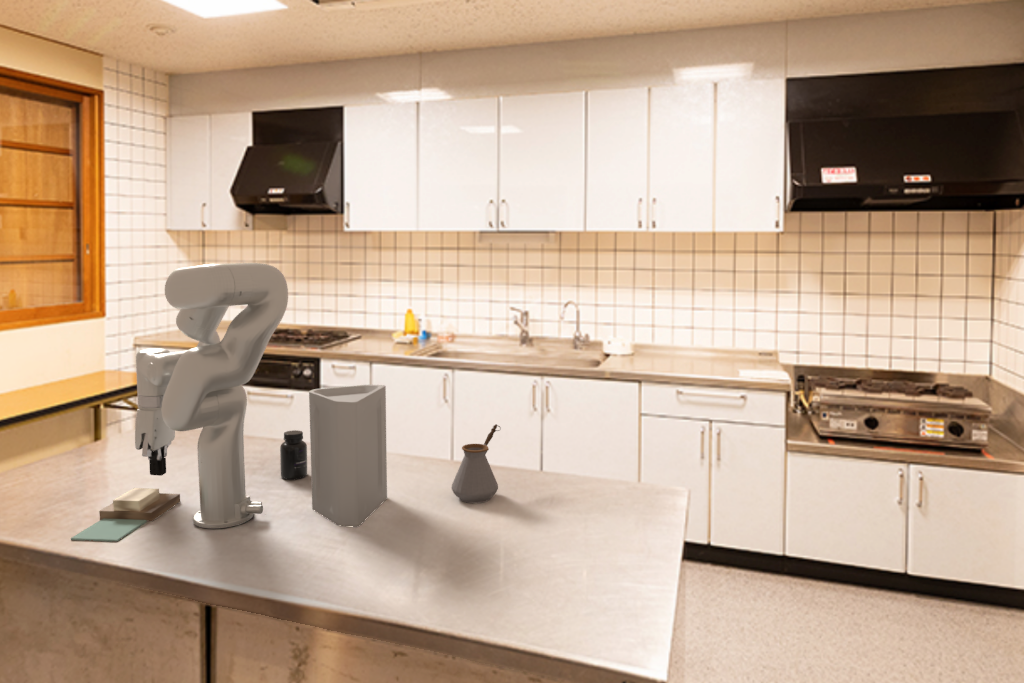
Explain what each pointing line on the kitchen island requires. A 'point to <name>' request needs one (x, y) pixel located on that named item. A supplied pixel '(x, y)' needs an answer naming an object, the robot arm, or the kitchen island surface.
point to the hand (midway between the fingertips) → (158, 474)
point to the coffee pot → (475, 474)
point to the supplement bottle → (293, 456)
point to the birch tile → (136, 499)
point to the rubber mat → (109, 530)
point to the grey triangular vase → (348, 452)
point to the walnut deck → (145, 514)
